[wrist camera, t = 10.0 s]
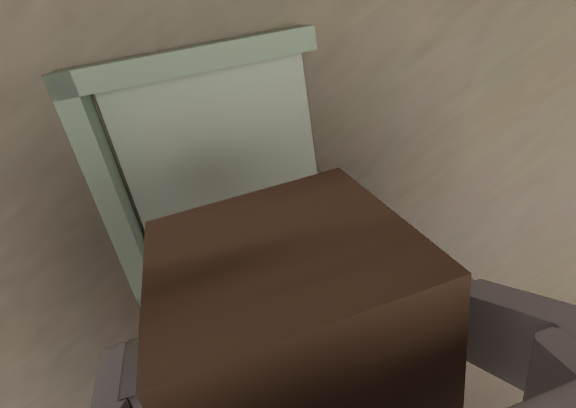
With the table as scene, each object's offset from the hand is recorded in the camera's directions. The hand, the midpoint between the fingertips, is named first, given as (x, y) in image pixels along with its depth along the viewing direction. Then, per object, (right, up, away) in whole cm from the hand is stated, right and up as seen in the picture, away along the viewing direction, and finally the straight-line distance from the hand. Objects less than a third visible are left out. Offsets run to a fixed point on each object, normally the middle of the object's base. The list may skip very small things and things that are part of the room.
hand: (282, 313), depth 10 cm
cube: (0, +1, +1) cm, 2 cm away
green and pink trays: (-2, 0, +13) cm, 13 cm away
